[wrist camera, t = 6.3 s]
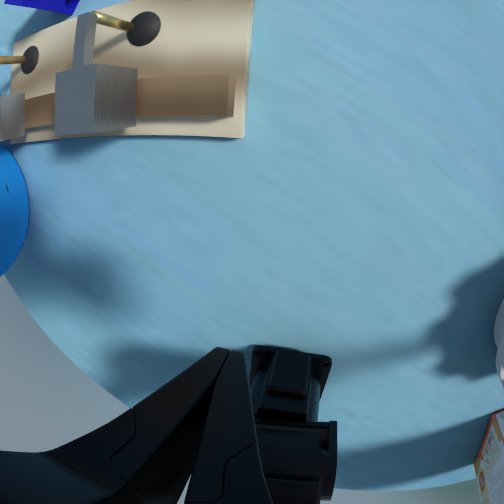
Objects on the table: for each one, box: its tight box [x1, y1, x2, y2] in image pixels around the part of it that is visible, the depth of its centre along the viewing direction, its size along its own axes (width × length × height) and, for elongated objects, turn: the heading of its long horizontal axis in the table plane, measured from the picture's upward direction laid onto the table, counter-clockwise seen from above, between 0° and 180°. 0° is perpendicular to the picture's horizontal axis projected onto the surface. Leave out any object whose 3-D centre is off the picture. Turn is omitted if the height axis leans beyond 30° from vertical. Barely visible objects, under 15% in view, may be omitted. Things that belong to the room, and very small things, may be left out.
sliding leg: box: [55, 11, 138, 136], centre depth 14 cm, size 7×3×5 cm, turn 176°
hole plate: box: [0, 0, 254, 144], centre depth 15 cm, size 10×22×8 cm, turn 86°
